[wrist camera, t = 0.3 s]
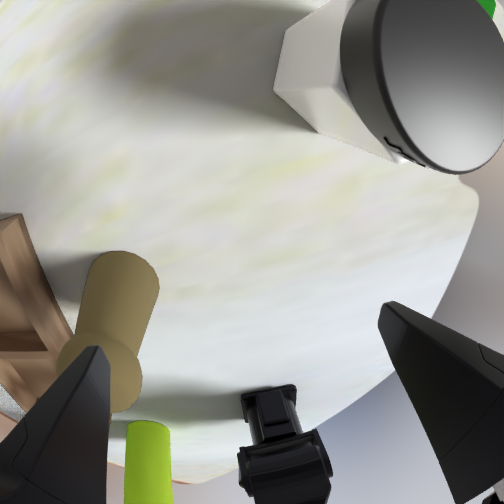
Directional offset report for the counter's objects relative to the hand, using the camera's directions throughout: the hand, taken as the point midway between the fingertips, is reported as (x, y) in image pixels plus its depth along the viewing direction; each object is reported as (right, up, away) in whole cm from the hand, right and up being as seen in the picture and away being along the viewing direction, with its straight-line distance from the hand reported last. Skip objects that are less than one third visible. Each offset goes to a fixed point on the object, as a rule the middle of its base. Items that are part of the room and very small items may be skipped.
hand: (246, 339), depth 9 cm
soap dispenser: (-13, -21, +25) cm, 36 cm away
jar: (+6, +15, +9) cm, 18 cm away
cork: (-10, 0, +14) cm, 17 cm away
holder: (-23, -5, +14) cm, 27 cm away
